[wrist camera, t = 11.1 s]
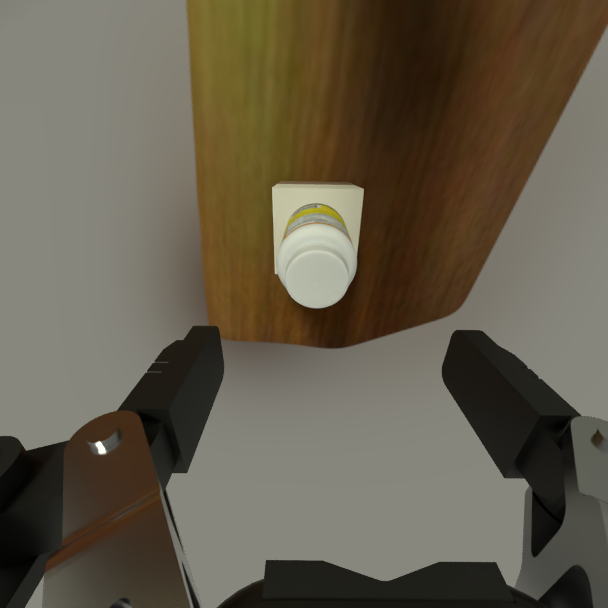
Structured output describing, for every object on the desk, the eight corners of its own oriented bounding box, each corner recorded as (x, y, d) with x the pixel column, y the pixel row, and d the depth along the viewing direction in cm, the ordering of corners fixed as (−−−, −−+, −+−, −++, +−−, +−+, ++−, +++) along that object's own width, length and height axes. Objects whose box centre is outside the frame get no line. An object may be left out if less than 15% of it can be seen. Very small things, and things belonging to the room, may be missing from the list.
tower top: (277, 183, 28) (272, 187, 24) (354, 185, 28) (364, 189, 24) (279, 258, 32) (275, 274, 28) (347, 259, 32) (354, 275, 28)
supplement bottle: (324, 270, 27) (329, 332, 19) (275, 242, 26) (255, 295, 17) (358, 222, 25) (382, 267, 16) (305, 188, 24) (300, 218, 15)
